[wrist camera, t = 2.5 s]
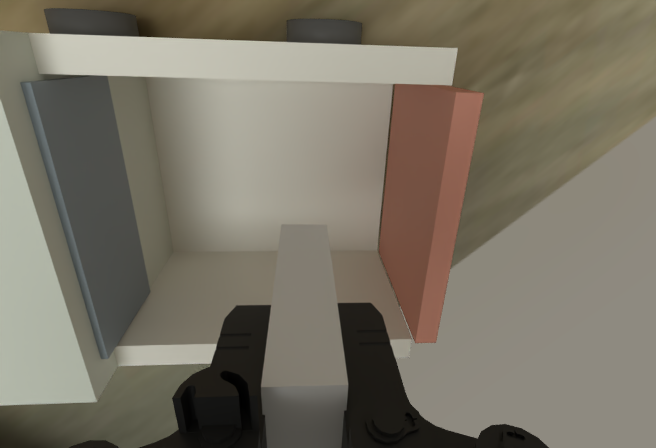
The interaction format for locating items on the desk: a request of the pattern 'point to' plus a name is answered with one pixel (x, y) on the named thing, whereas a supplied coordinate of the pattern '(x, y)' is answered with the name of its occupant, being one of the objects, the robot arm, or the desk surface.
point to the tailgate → (426, 196)
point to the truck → (180, 187)
